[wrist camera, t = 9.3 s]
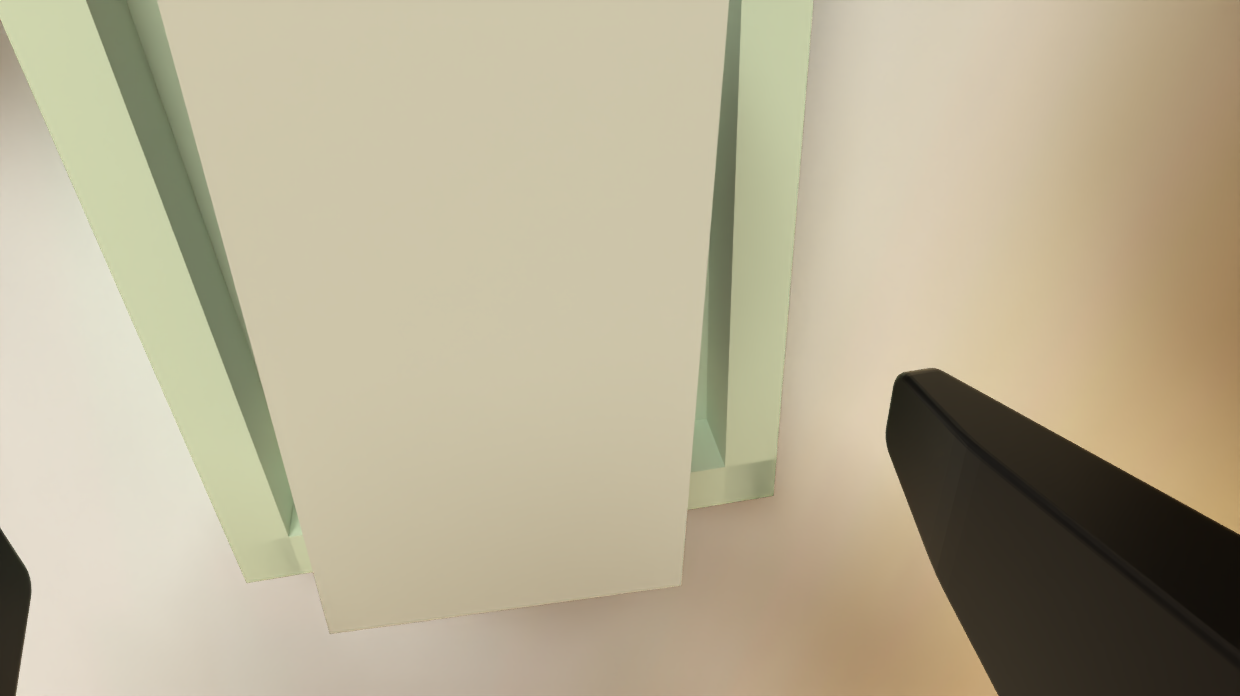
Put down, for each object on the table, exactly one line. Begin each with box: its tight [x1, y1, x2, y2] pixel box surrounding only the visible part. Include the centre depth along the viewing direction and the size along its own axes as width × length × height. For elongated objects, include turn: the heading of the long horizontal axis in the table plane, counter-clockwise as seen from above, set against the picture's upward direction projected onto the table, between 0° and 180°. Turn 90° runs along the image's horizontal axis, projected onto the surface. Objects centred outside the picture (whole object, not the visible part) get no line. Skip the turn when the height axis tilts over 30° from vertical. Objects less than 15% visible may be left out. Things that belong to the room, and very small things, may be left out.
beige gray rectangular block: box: [157, 0, 729, 634], centre depth 13 cm, size 5×9×5 cm, turn 0°
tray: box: [0, 0, 813, 583], centre depth 14 cm, size 10×14×2 cm
